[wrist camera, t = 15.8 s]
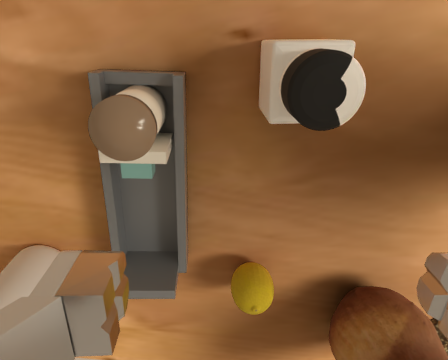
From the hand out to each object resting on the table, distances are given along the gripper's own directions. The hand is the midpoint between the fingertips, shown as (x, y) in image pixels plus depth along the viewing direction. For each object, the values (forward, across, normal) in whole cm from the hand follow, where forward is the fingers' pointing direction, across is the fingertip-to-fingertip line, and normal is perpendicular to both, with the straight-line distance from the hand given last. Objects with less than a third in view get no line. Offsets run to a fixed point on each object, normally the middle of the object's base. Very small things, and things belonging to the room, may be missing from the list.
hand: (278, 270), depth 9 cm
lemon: (+29, -4, +24) cm, 38 cm away
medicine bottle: (+29, -7, -2) cm, 30 cm away
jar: (+28, +9, +2) cm, 29 cm away
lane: (+29, +9, +10) cm, 32 cm away
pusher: (+28, +9, +6) cm, 30 cm away
